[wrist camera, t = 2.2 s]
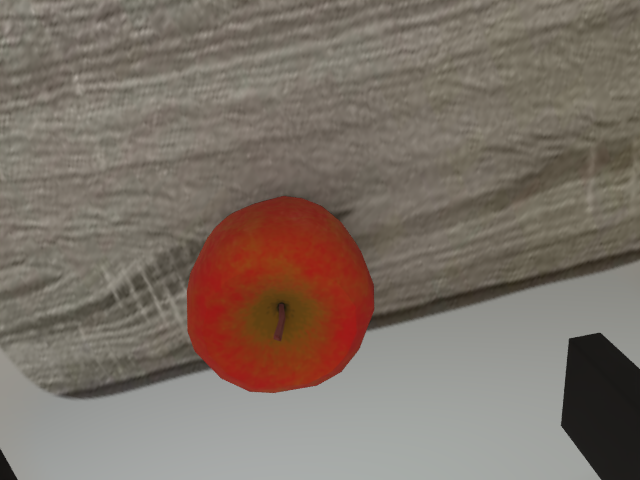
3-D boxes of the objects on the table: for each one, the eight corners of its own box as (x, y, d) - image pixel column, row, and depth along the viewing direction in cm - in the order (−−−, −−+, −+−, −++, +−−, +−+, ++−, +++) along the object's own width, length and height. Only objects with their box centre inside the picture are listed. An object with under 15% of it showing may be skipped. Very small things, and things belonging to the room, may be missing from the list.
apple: (289, 135, 20) (308, 200, 13) (371, 244, 23) (423, 344, 16) (169, 226, 21) (131, 328, 14) (261, 320, 24) (266, 446, 17)
